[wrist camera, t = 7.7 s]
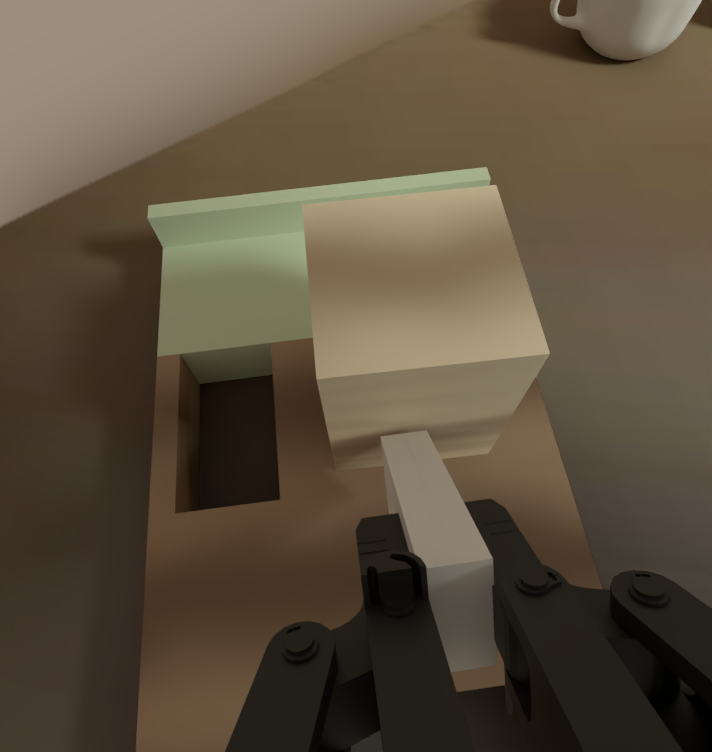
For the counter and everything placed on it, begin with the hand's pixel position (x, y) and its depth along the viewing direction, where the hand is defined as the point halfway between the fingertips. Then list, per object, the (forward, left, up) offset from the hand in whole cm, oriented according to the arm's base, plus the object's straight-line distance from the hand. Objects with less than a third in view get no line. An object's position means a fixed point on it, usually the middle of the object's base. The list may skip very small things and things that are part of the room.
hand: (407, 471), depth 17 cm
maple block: (+4, -2, -3) cm, 5 cm away
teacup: (+22, -29, -6) cm, 37 cm away
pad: (+11, -2, -6) cm, 13 cm away
